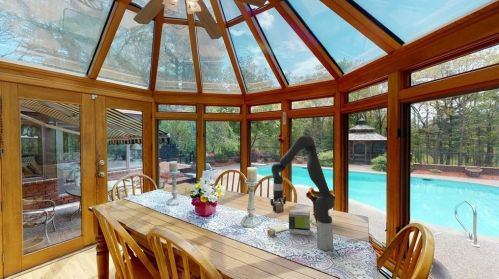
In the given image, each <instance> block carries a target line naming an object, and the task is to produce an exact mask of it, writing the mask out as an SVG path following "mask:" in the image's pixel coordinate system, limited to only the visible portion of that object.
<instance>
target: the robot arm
mask: <svg viewBox="0 0 499 279" xmlns="http://www.w3.org/2000/svg"><path fill="white" fill-rule="evenodd" d="M304 149H305V152H306V155H307V156H306V157H307V164H306V169H307V172H308V176H309V178H310V180H311V182H312V183H313V184H314V185H315V187H317V189H318V190H317V191H319V192H320V195H321V197H319V198H317V199H316V203H315V208H316V217H317V226H316V246H317V249H319V250H322V251H325V252H328V251H331V250H334V234H333V217H332V216H331V215H330V214H329V211H330V210H333V208H334V207H335V200H333V197H332V195H331V193H330V189H329V188H330V187H329V186H328V183H327V180H326V178H325V175H324V170H323V168H322V165H321V162H320V159H319V157H318V153H317V150H316V145H315V140H314V139H313V137H312V136H311V135H300V136H298V137H297V139H296V140H295V141H294V142H293V144H292V145H291V147H290V148H289V149H288V151H287V152H285V154H284V155H283V156H282V157H280V159H279V162H277V163H273V164H272V165H271V173H272V178H273V186H272V187H273V188H272V190H273V191H272V193H273V194H272V195H273V196H272V197H271V198H269V202H270V206H271V207H272V211H273V210H274V211H276V204H277V203H281V204H283V205H286V204H287V196H286V195H284V183H283V182H284V178H283V176H282V175H281V174H280V173H282V172H283V171H285V170H286V169H287V167H288V166H289V165H290V164H291V162H292V161H294V159H295V158H296V156H297V154H298V153H299V152H301V151H302V150H304Z"/></svg>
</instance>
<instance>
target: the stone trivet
mask: <svg viewBox="0 0 499 279" xmlns="http://www.w3.org/2000/svg"><path fill="white" fill-rule="evenodd" d="M267 228H268V229H270V228H272V229H275V234H277V233H281V232H285V231H289V226H286V225H284V224H283V223H281V222H278V223H275V224H270V225H268V226H267Z"/></svg>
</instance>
